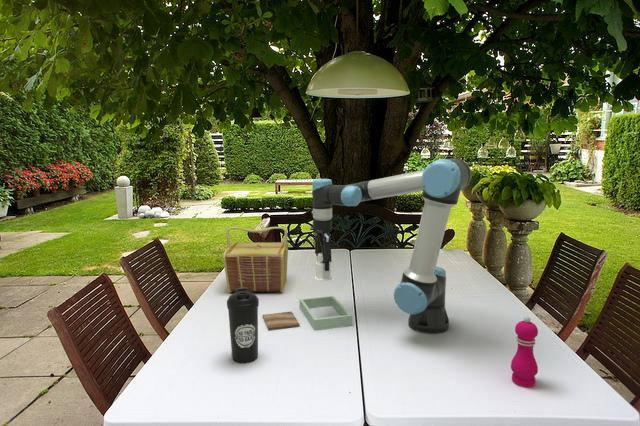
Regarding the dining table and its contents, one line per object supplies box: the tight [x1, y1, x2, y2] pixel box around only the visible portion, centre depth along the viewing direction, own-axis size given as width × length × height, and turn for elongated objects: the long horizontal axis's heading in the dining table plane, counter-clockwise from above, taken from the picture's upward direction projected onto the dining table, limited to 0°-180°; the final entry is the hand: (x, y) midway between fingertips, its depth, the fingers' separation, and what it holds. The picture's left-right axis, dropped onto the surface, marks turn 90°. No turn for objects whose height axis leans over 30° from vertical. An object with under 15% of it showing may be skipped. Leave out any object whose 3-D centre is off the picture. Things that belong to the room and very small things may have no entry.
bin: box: [299, 295, 353, 331], centre depth 187 cm, size 24×15×4 cm, turn 16°
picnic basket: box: [222, 226, 289, 294], centre depth 222 cm, size 29×26×30 cm
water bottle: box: [226, 287, 260, 364], centre depth 152 cm, size 10×10×23 cm
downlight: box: [314, 253, 333, 282], centre depth 184 cm, size 8×7×10 cm
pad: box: [262, 311, 301, 331], centre depth 183 cm, size 14×12×1 cm
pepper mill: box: [510, 316, 539, 388], centre depth 134 cm, size 7×7×20 cm
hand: (323, 275), depth 185 cm, fingers closed on downlight, 8 cm apart
